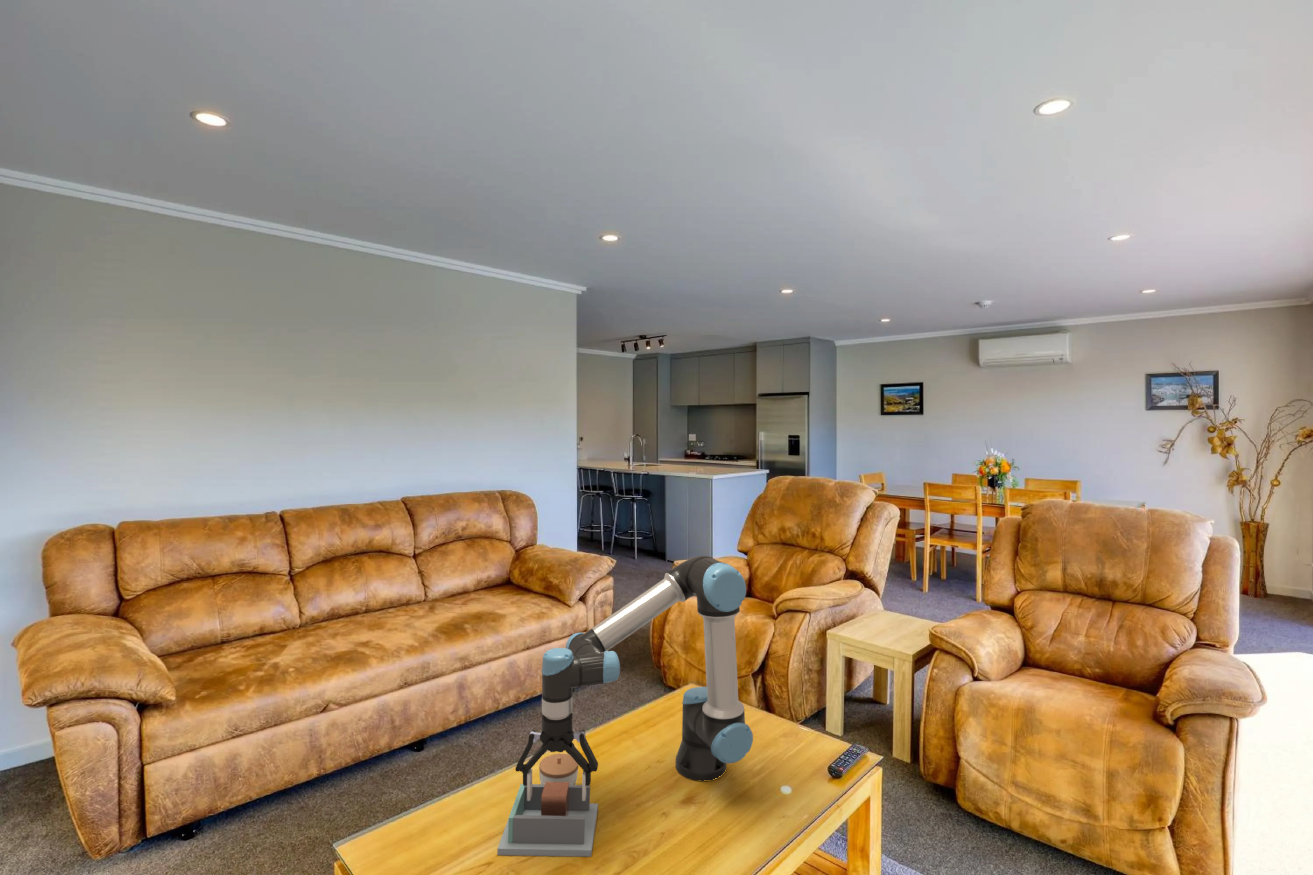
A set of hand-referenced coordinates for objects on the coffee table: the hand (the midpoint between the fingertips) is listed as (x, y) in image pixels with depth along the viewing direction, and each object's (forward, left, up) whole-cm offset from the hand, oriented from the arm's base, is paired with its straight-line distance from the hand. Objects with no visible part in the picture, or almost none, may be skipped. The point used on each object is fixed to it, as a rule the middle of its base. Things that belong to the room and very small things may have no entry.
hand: (556, 797), depth 153 cm
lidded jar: (+2, -16, -9) cm, 19 cm away
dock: (+1, 0, -8) cm, 8 cm away
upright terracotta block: (0, 0, -7) cm, 7 cm away
